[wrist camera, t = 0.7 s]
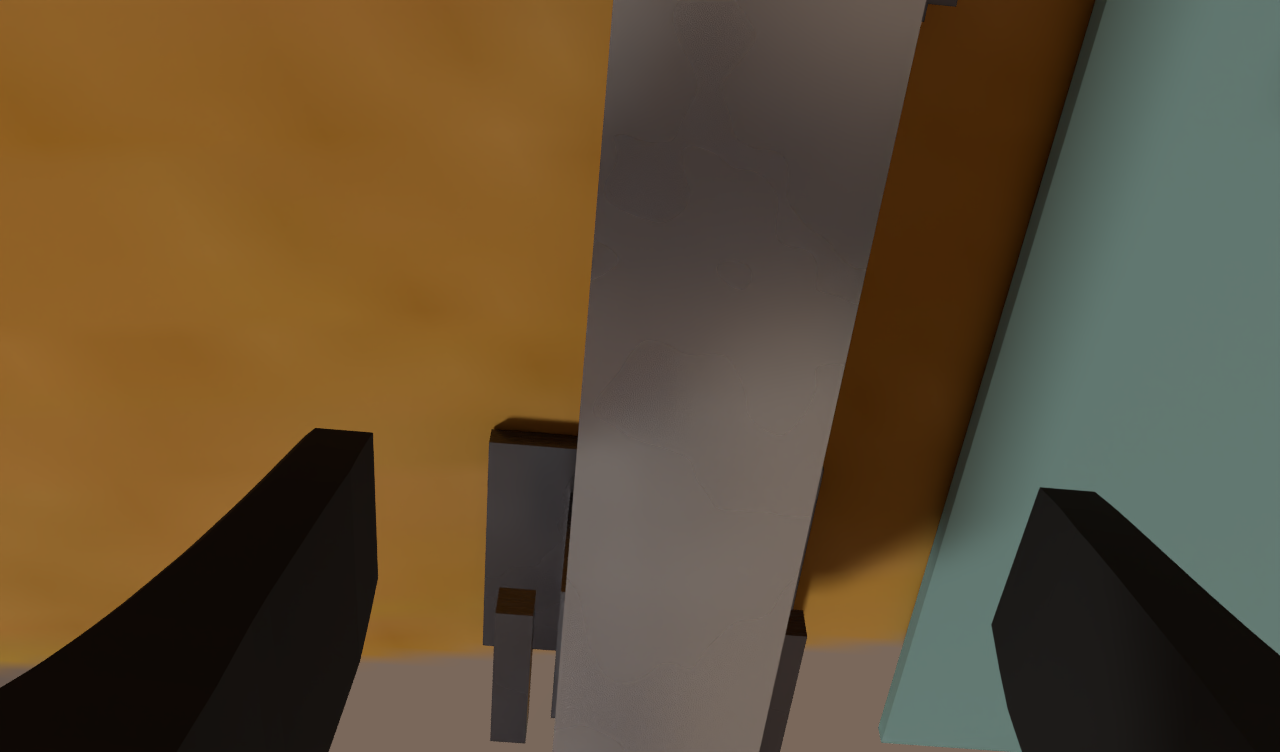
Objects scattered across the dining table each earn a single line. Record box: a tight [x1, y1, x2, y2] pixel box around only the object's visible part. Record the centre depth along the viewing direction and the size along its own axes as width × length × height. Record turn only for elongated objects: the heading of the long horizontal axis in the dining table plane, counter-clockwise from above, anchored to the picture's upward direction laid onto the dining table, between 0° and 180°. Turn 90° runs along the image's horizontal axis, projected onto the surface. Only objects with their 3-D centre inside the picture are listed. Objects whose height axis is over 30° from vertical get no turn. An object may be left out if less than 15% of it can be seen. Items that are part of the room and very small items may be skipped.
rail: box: [553, 0, 926, 752], centre depth 15 cm, size 18×3×4 cm, turn 175°
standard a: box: [483, 429, 824, 752], centre depth 21 cm, size 5×6×4 cm
